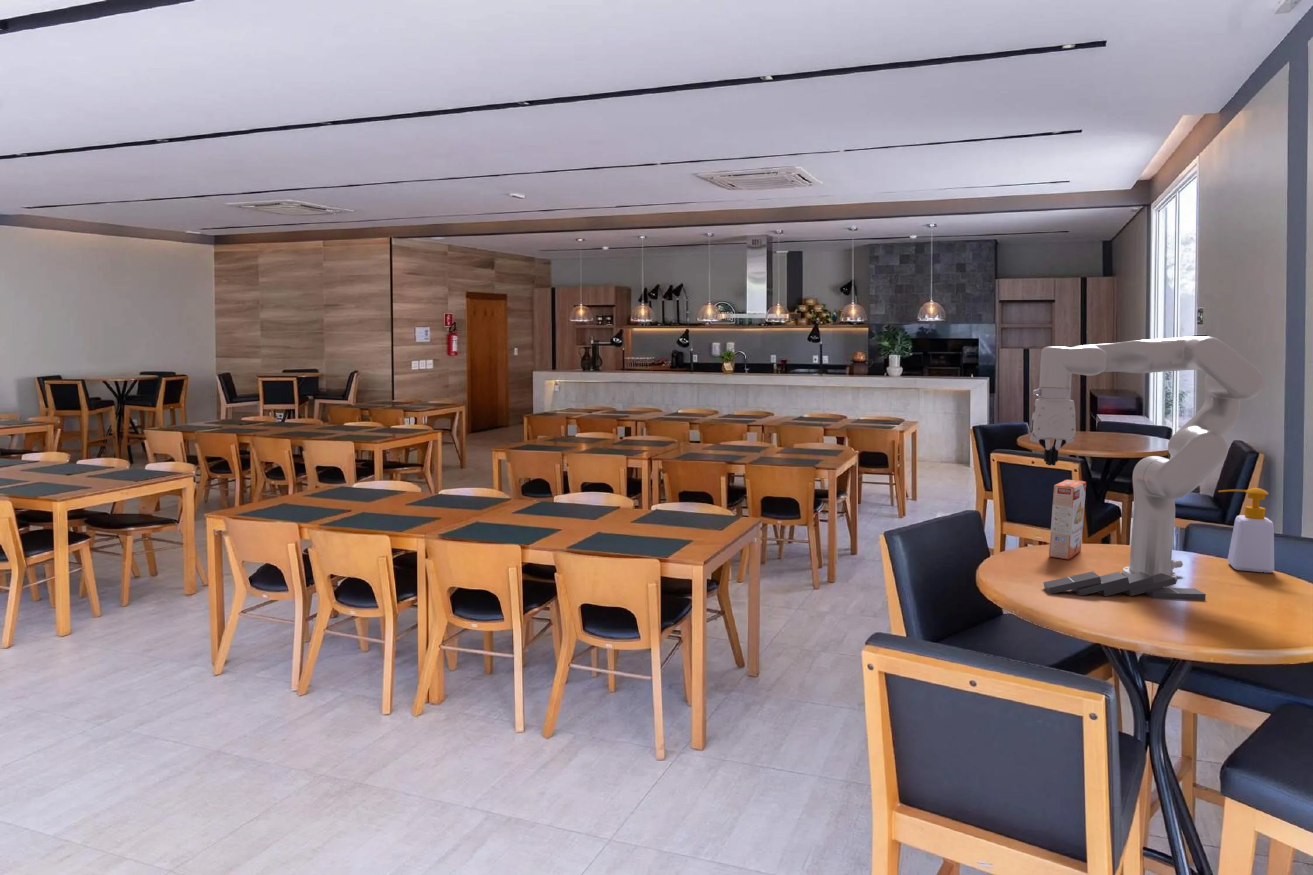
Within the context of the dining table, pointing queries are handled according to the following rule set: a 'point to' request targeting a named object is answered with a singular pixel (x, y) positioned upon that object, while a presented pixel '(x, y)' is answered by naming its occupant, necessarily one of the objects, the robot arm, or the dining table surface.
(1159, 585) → the domino
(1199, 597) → the domino
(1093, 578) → the domino
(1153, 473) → the robot arm
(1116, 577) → the domino
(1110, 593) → the domino
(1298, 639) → the dining table surface
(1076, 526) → the cracker box
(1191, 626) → the dining table surface
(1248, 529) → the soap bottle
